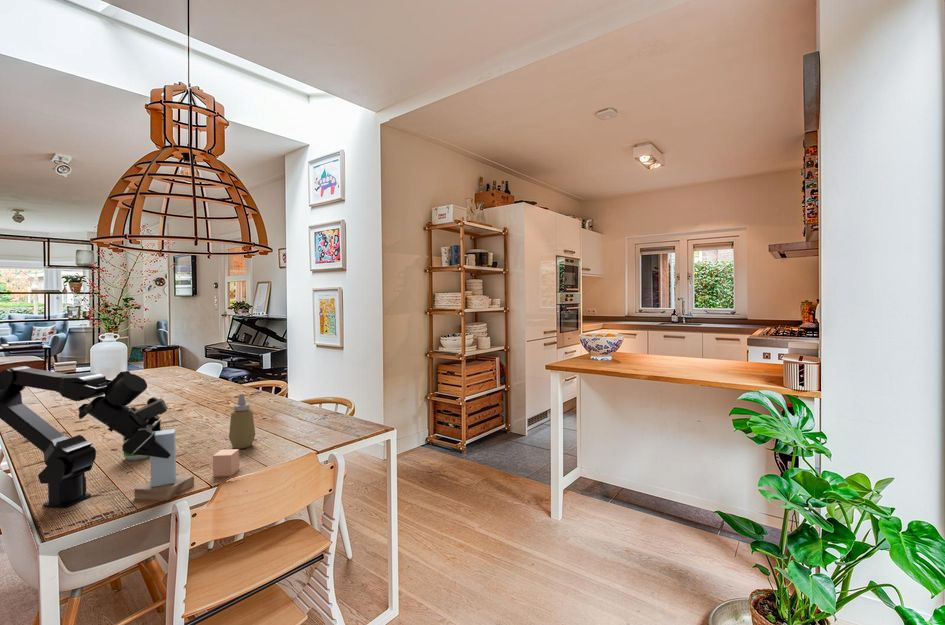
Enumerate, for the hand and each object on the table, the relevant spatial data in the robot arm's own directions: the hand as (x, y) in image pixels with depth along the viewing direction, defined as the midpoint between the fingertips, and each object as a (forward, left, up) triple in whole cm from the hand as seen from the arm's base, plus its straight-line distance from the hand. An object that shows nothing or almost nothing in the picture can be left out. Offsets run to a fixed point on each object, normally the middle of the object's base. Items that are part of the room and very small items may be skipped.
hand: (171, 451), depth 113 cm
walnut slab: (-1, +1, -11) cm, 11 cm away
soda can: (+22, +29, -11) cm, 38 cm away
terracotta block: (+12, -7, -10) cm, 17 cm away
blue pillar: (-1, +1, -8) cm, 8 cm away
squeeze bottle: (+34, +2, -11) cm, 36 cm away
